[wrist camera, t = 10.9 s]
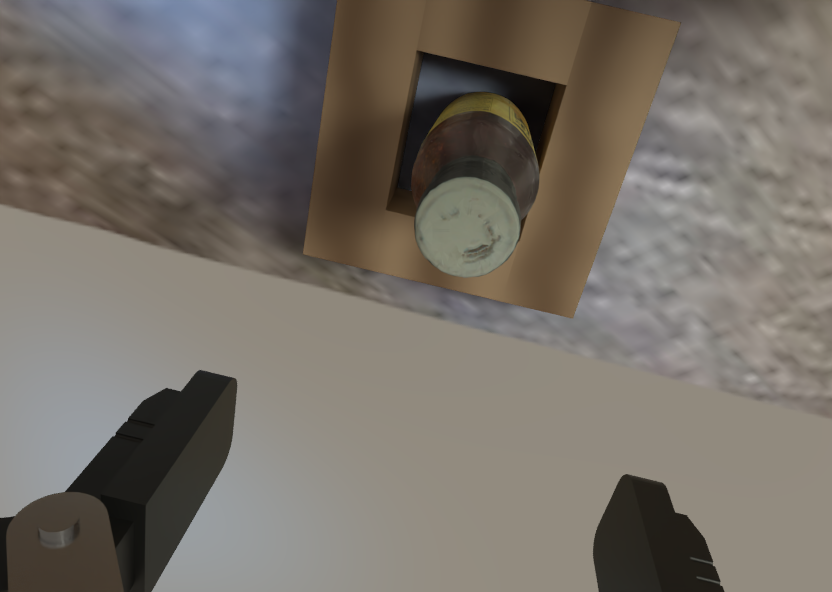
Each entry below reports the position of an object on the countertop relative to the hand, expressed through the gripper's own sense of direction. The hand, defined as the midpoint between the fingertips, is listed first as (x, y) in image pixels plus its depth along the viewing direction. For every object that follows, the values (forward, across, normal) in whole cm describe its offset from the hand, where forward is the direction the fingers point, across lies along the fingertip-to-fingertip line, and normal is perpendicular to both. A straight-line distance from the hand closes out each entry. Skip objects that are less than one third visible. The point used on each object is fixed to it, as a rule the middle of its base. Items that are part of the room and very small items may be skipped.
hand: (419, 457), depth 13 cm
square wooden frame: (+32, 0, 0) cm, 32 cm away
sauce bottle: (+32, 0, 0) cm, 32 cm away
